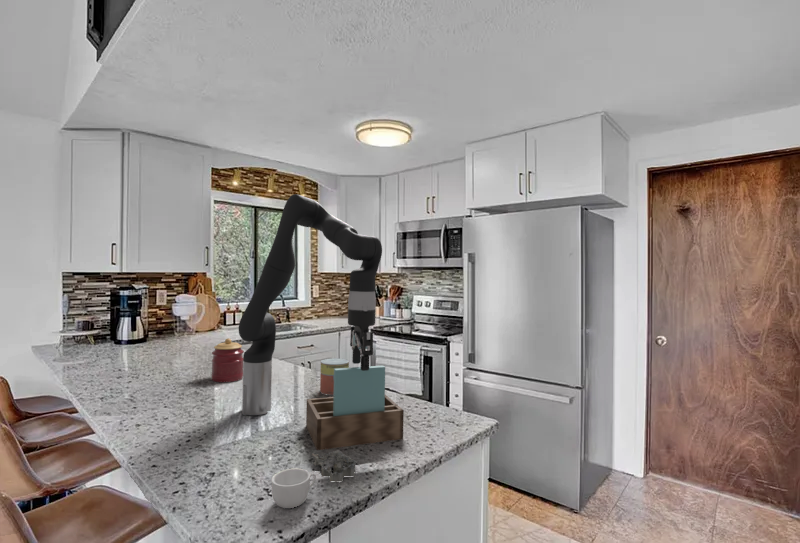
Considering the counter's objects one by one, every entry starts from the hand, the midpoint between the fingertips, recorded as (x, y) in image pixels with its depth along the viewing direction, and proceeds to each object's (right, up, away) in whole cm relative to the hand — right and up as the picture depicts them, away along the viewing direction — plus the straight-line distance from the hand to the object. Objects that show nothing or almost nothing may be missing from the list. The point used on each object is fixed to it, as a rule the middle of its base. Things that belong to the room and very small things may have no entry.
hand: (360, 366), depth 117 cm
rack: (-3, -22, +6) cm, 23 cm away
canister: (-64, -21, +68) cm, 96 cm away
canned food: (-15, -22, +53) cm, 59 cm away
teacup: (-11, -22, -28) cm, 37 cm away
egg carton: (-5, -22, -15) cm, 27 cm away
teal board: (-1, -20, 0) cm, 20 cm away
